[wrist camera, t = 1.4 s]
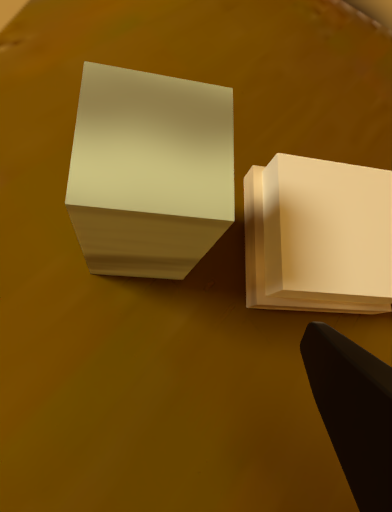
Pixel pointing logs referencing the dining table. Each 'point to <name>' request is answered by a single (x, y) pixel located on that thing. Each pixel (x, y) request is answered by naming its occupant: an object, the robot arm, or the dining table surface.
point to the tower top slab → (327, 230)
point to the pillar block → (150, 171)
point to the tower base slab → (257, 262)
